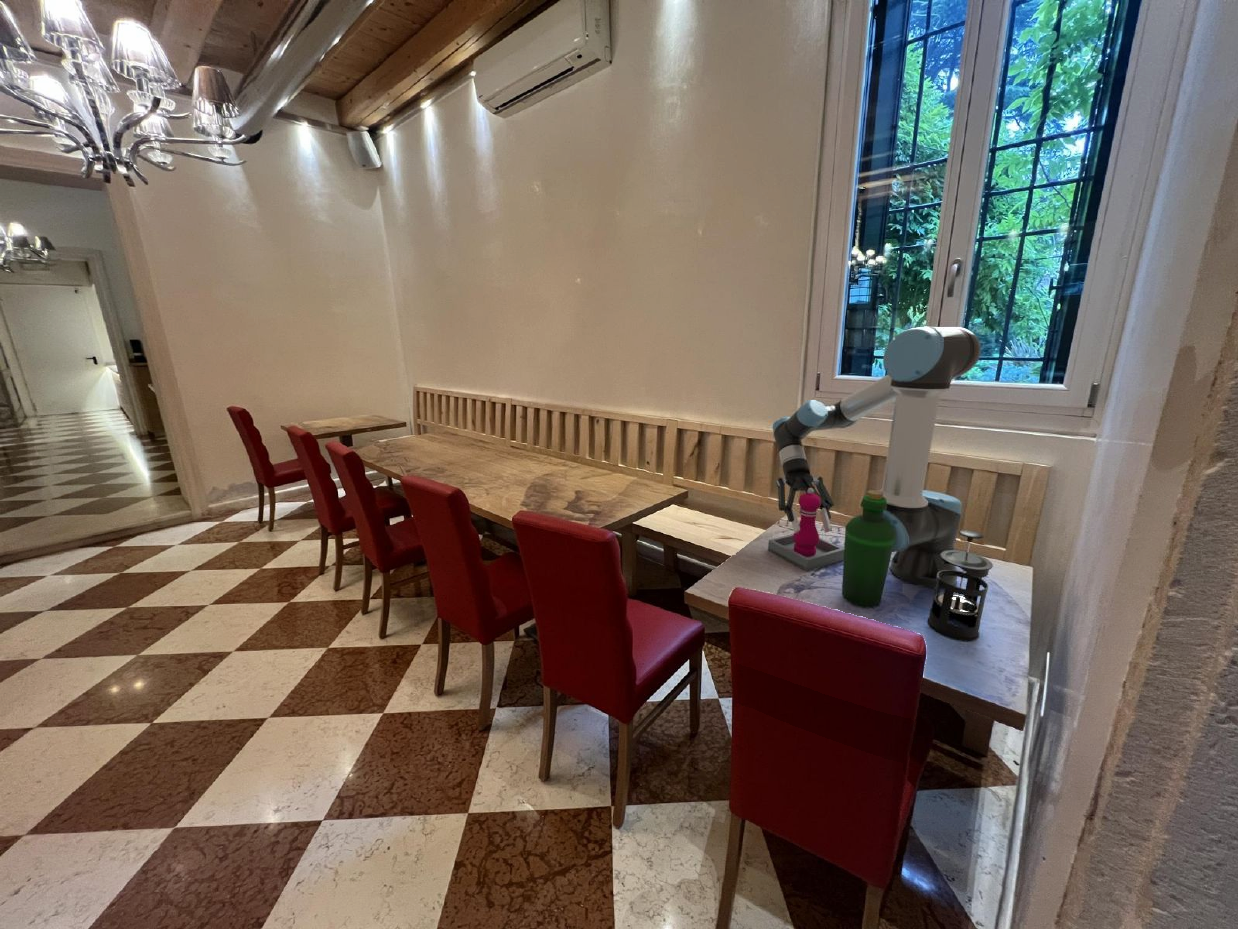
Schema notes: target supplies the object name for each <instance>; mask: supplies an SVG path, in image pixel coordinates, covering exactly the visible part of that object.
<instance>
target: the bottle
mask: <svg viewBox="0 0 1238 929" xmlns="http://www.w3.org/2000/svg"><path fill="white" fill-rule="evenodd" d="M882 496H883V492H881V491H879V490H875V489H870V490H869V489H868V490H867V494H864V495H863V497H862V500H861V502H860V506H861V508H862V514H863V515H862V514H859V515H857V516H854V517H852V518H851V519H850V520H849V521H848V522H847V524H845V529H844V530H845V531H844V533H845V534H844V547H843V548H844V560H843V563H842V564H843V567H842V582H841V583H842V585H841V588H842V589H841V595H842V598H843V599H844V600H845V601H846V602H849V603H850V604H852V605H853V606H858V607H860V606H861V607H860V608H871V609H872V608H876V607H879V606H880V604H881V602H882V598H883V593H884V590H885V584H886V581H887V576H888V571H889V566H890V564H891V559H892V558H891V556H892V553H893V552H892V549H893V545H894V541H895V536H896V531H895V529H894V528H893V526H892V525H891V524H890V523H889V522H888V521H886V520H885V519H884V518H882V515H883V511H884V510H886V509H887V502H886V498H885V497H882Z"/></svg>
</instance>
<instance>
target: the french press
mask: <svg viewBox="0 0 1238 929" xmlns="http://www.w3.org/2000/svg"><path fill="white" fill-rule="evenodd" d="M958 534H959V535H961V536H963V537H965V538H966V537H967V538H966V541H967V542H968V543H967V547H966V548H967V549H966V551H965V550H959V549H958V550H956V549H954V550H947V551H943V552H942V553H941V558H942V565H946V564H952V565H954V566H956V568H957V567H958V568H960V569H961V570H962V571H961V570H957V571H955V570H943V571H939V572H938V573H937V577H936V587H935V588H934V593H933V599H932V604H931V607H930V612H929V615H928V616H929V617H928V618H927V622H926V623H927V625H928V626H929V628H930V629H931V630H932V631H933V632H935V633H936V634H939V635H940V636H943V637H945V638H947V639H951V640H953V641H956V642H957V641H958V642H974V641H977V640H978V639H979V638H980V631H979V630H980V627H981V620H982V616H983V611H984V606H985V600H986V597H987V593H988V591H989V590H988V589H989V584H988V583H987V582H986V581H985V580H984V579H983V578H986V577H987V576H989V572H990V570H991V569H992V568H993V566H994V564H993V562H992V561H991V560H990V559H987V558H986V557H983V555H982V556H981V555H979V554H976V553H973V552H970V548H971V543H973V542H974V541H973V540H974V539H975V540H976V539H978V540H979V539H983V538H984V535H983V534H982V533H980V532H978V531H974V530H969V529H968V530H967V529H960V530H958ZM942 576H957V578H961V579H960V583H959V586H955V585H954V586H952V585H950V584H948V583H946V582H944V581H942ZM964 579H966V584H965V585H966V586H965V588H962V586H963V581H964ZM981 586H982V587H983V589H981ZM940 587H943V588H942V589H944V590H943V591H944V592H941V593H940V591H941V588H940ZM978 598H979V602H978ZM949 620H951V621H955V622H959V623H960V624H963V625H964V626H962V625H956V624H954V623H951V622H949Z"/></svg>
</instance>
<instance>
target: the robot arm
mask: <svg viewBox="0 0 1238 929" xmlns="http://www.w3.org/2000/svg"><path fill="white" fill-rule="evenodd" d="M981 346H982V345H981V342H980V340H979V338H978V337H977V335H976V334H974V333H973V332H972V331H971V330H968V329H967V328H963V327H959V326H947V327H946V326H945V327H944V326H943V327H941V326H920V327H919V326H918V327H914V328H913V327H912V328H909V329H906V330H903V331H901V332H900V333H898V334H897V335H896V336H895V337H893V338H892V340H890V342H889V343H888V345H887V347H886V348H885V351H884V353H883V362H882V363H883V365H882V366H883V369H884V370H885V371H886V374H887V375H884V376H883V377H881V378H878V379H877V380H876V381H874V382H872V383H870V384H868V385H867V386H864V387H863V388H860V389H859V390H857V391H855V392H853V393H851V394H850V395H848V396H847V397H844V398H843V399H841V400H839V401H837V402H836V403H833V404H826V405H825V404H824V403H823V402H821V401H819V400H818V401H817V400H816V399H809V400H807V401H806V402H805V403H804V404H802V405H801V406H800V407H799V408H798V409H797V410H796V411H795V412H794V413H793V414H792V415H791V416H783V417H780V418H779V419H776V420H775V421H774V423H773V424H772V431H773V432H772V433H773V438H774V440H775V445H776V450H777V452H778V456H779V460H780V464H781V467H782V471H783V472H782V473H783V475H784V478H782V477H778V479H777V480H776V482H775V484H776V487H777V495H778V496H777V499H778V500H777V501H778V503H777V504H778V511H782V512H783V513H785V514H786V516H787V521H788V522H789V523H791V526H792V529H793V534H795V533H798V532H799V531H800V526H799V523H800V522H799V520H798V519H799V518H798V516H797V512H796V508H793V505H794V502H795V501H794V500H795V497H796V492H800V491H802V492H804V493H808V492H807V490H808V489H809V488H812V489H814V494H816V495H818V496H819V497H820V500H821V505H820V507H819V508H818V509H820V510H819V516H820V518H821V524H822V526H823V529H824V530H823V531H824V533H829V532H830V531H831V530H833V528H832V525H831V521H830V520H831V519H832V516H831V512H830V509H832V507H834V505H835V503H834V502H833V499H832V498H831V495H830V493H829V491H828V490H827V488H826V485H825V484H824V480H823V479H824V478H823V477H822V476H818V477H813V475H812V474H811V471H810V466H809V463H808V460H807V456H806V452H805V449H804V446H803V442H802V441H803V439H805V438H806V437H807V436H808V435H810V434H811V433H812V432H815V431H824V430H832V429H833V430H836V429H844V428H848V427H852V426H853V425H856V423H857V422H858V420H860V419H862V418H865V417H866V416H868V415H870V414H872V413H875V412H877V411H879V410H881V409H883V408H885V407H887V406H889V405H891V404H894V408H893V415H892V420H891V427H890V433H889V434H890V435H889V442H888V448H887V454H886V459H885V460H886V461H885V467H884V474H883V479H882V480H883V481H882V485H881V486H882V487H881V489H879V490H878V491H881V492H883V496H882V497H885V498H886V502H887V509H886V510H884V511H883V515H882V518H884V519H885V520H886V521H888V522H889V523H890V524H891V525H892V526H893V528H894V529H895V531H896V536H895V541H894V545H893V549H892V553H894V555H893V557H892V558H891V560H890V567H891V568H890V570H892V571H891V572H892V573H893V574H894V575H895V574H896V575H897V576H896V575H895V576H896V577H898V576H899V577H898V578H900V579H901V578H902V580H903V579H904V580H903V581H905V582H908V583H911V584H914V585H917V586H922V587H926V588H933V589H935V587H936V577H937V573H938V572H939V571H943V570H955V571H958V570H957V566H954V565H952V564H946V565H942V558H941V553H942V552H943V551H947V550H955V545H956V542H957V536H958V533H959V525H960V521H961V516H962V514H963V513H962V508H963V506H962V505H963V503H962V501H960V499H958V498H957V497H955V496H952V495H948V494H945V493H941V492H938V491H937V492H936V491H932V490H927V489H925V490H924V487H925V480H926V476H927V469H928V465H929V458H930V453H931V448H932V442H933V437H934V430H935V427H936V426H935V425H936V419H937V414H938V410H939V404H940V398H941V396H942V395H943V394H945V393H947V391H950V387H951V381H952V380H954V379H956V378H958V377H961V376H963V375H965V374H967V373H969V372H970V371H972V369H973V368H975V366H976V364H977V363H978V361H979V359H980V357H981V353H982V347H981ZM786 484H787V486H788V487H789V491H788V497H787V500H786V486H785V485H786ZM813 484H814V485H813ZM815 487H816V488H815ZM861 515H863V513H862V514H861ZM957 579H958V577H957V576H942V581H944V582H946V583H948V584H950V585H952V586H955V585H956V584H957ZM940 589H944V588H943V587H940Z"/></svg>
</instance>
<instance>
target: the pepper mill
mask: <svg viewBox="0 0 1238 929" xmlns="http://www.w3.org/2000/svg"><path fill="white" fill-rule="evenodd" d="M807 492H808V493H806V492H804V493H802V494H801V495H800V496H799V497H798V504H799V506H800V508H799V511H798V512H799V514H800V520H799V522H798V523H799V526H800V531H799V532H798V533H795V534H794V533H793V534H794V535H793V540H794V542H795V544H794V551H795V552H797V553H799V554H801V555H803V556H814V555H815V554H816V549H817V548H816V545H817V544H818V543H819V538H820V534H819V531H818V529H817V526H816V517H817V516H818V515H819V510H818V509H820V508H819V507H820V505H821V500H820V497H819V496H818V495H816V494H814V489H812V488H809V489H808V490H807Z"/></svg>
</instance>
